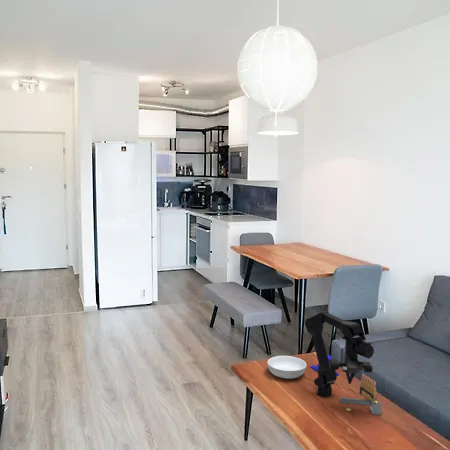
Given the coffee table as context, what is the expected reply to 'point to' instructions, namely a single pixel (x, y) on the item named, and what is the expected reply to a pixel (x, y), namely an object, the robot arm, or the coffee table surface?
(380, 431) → the coffee table surface
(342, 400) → the hole plate
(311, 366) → the mount
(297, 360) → the serving bowl
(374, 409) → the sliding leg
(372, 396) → the ammunition clip
